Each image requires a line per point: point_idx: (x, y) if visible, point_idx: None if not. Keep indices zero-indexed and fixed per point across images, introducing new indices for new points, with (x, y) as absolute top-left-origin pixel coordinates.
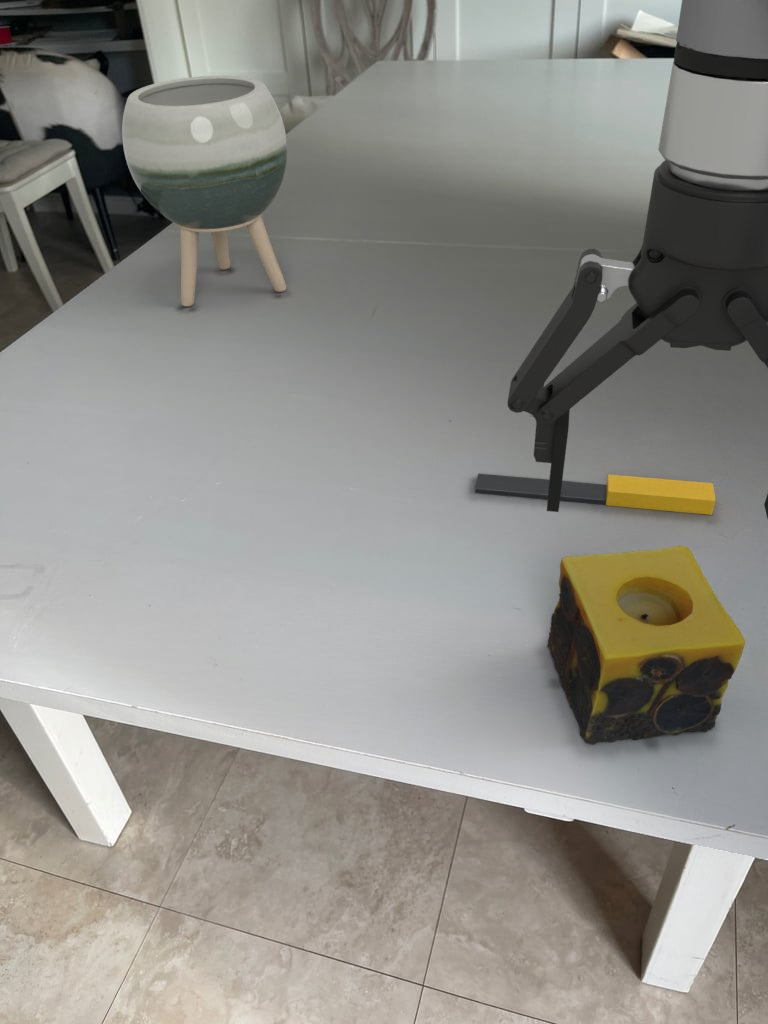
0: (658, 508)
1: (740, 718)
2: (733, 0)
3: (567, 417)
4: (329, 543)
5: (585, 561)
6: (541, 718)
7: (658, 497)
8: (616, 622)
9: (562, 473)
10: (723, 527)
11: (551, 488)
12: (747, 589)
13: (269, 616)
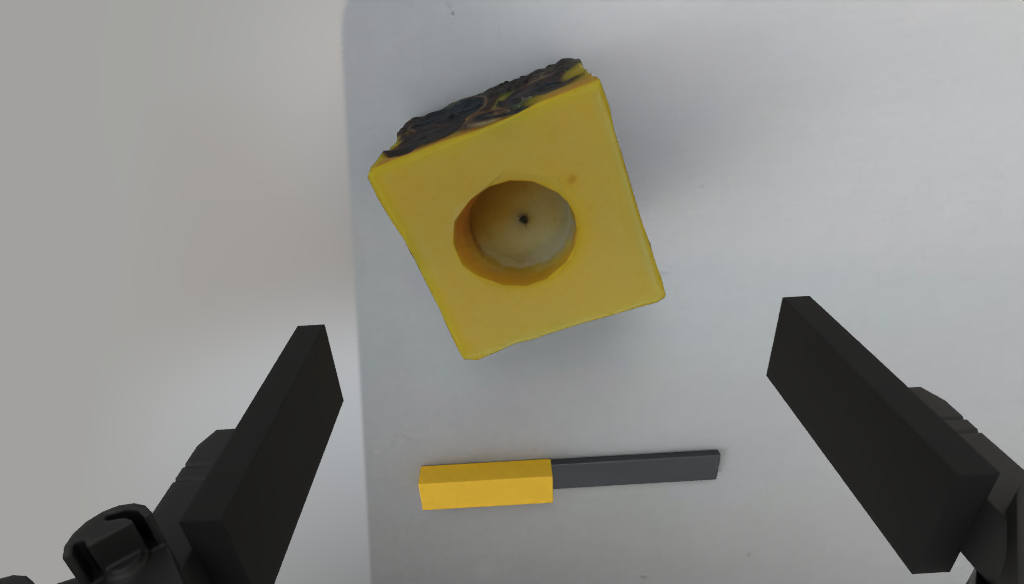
0: (485, 464)
1: (371, 154)
2: None
3: (940, 519)
4: (921, 332)
5: (626, 297)
6: (630, 92)
7: (488, 477)
8: (578, 171)
9: (846, 362)
10: (406, 450)
11: (842, 331)
12: (373, 361)
13: (1019, 187)
